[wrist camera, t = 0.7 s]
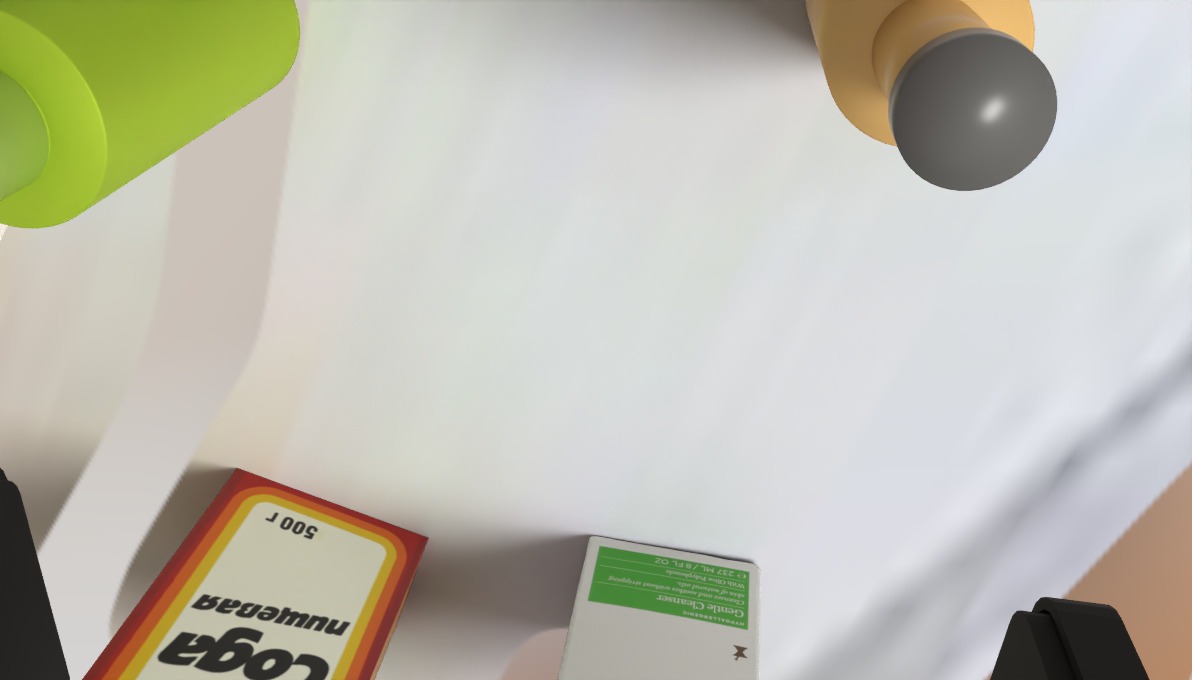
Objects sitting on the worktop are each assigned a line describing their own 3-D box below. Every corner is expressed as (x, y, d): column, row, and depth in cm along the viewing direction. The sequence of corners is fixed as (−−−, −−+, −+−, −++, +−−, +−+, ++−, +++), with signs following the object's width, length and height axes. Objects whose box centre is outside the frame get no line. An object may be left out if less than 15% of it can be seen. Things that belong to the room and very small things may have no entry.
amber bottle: (814, -98, 33) (864, -21, 20) (980, -93, 32) (1141, -9, 19) (796, 63, 35) (829, 226, 22) (949, 70, 35) (1074, 242, 22)
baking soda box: (428, 538, 48) (301, 845, 34) (394, 629, 51) (266, 945, 37) (237, 468, 47) (28, 752, 34) (215, 565, 51) (16, 861, 37)
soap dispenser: (102, -71, 36) (-487, 64, 19) (289, -65, 36) (-145, 81, 18) (136, 92, 39) (-349, 341, 22) (309, 101, 38) (-48, 365, 21)
